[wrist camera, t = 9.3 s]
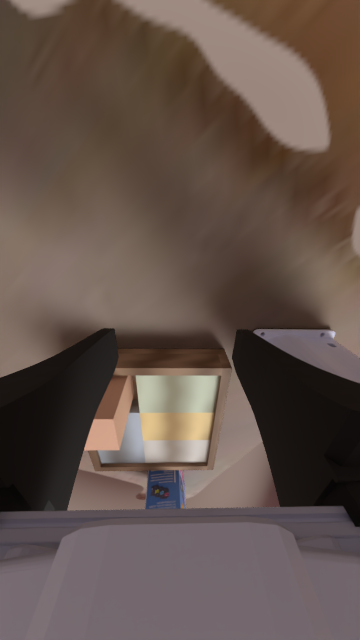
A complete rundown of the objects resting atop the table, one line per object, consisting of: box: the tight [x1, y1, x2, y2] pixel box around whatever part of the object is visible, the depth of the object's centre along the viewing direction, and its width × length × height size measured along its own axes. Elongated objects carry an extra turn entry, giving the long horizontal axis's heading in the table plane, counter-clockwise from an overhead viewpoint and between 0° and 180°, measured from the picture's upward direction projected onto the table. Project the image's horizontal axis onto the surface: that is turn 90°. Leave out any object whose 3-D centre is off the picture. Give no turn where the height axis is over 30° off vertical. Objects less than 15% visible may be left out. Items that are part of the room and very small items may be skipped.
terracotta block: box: [84, 375, 134, 450], centre depth 20 cm, size 5×5×7 cm
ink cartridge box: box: [145, 470, 186, 509], centre depth 28 cm, size 10×6×14 cm, turn 7°
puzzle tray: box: [88, 349, 232, 471], centre depth 25 cm, size 18×20×4 cm
